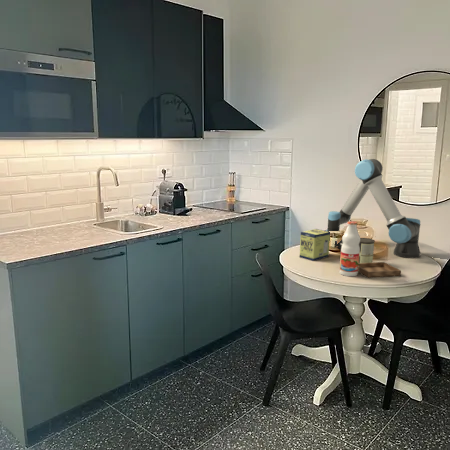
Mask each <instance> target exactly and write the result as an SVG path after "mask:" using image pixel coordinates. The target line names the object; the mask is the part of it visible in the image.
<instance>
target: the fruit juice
mask: <svg viewBox="0 0 450 450" xmlns="http://www.w3.org/2000/svg"><path fill="white" fill-rule="evenodd" d="M346 225H347V227H346V230H345V231H344V233H343V234H344V235H343V236H342V241H343V244H342V247H341V248H340V259H339V260H340V261H339V274H340V275H342V276H345V277H356V276H357V275H358V274H359V273H358V265H359V253H360V247H359V243H360V238H361V235H360V234H359V230H358V227H357V226H358V222H357V221H355V220H354V221H353V220H349V221H348V222H347V223H346Z"/></svg>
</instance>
